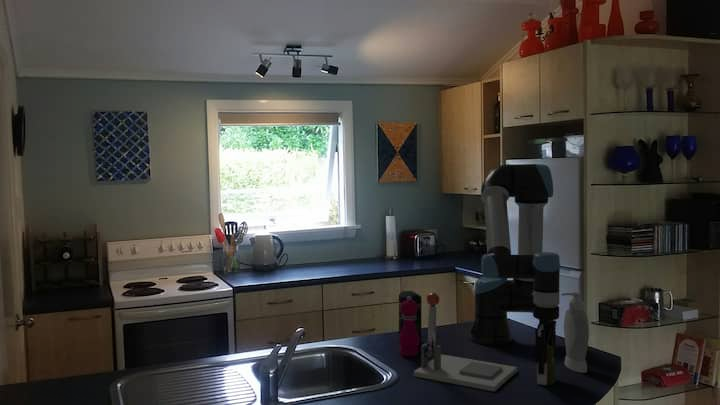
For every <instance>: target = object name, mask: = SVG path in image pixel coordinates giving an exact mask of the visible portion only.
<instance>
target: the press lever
mask: <svg viewBox="0 0 720 405" xmlns="http://www.w3.org/2000/svg"><path fill="white" fill-rule="evenodd" d="M426 302H427V304H428V305H429V307H428V317H427V319H428V321H427V322H428V323H427V349H426V350H425V357H426V358H428V359H431V360H433V359H434V347H436V335H437V334H436V331H437V307H436V306H438V304H439V302H440V296H439V295H438V294H437V293H435V292H430V293H429V294H427V296H426Z"/></svg>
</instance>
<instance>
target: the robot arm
mask: <svg viewBox="0 0 720 405" xmlns="http://www.w3.org/2000/svg"><path fill="white" fill-rule="evenodd" d="M552 176H553V175H552V171H551V169H550V167H549V166H548V165H546V164H540V163H522V164H521V163H520V164H518V163H514V164H509V163H507V164H502V165H498V166H496V167H495V168H493V169H492V170H491V171H490V172H488V174H487V175H486V177H485V178H484V180H483V182H482V184H481V188H480V198H481V201H482V203H484V218H485V219H484V221H485V222H484V223H485V235H486V236H485V237H486V254H485V253H484V254H483V255H482V256H481V275H482V277H479V278H477V279H476V281H475V282H474V291H473V293H474V319H473V322H472V325H471V328H470V330H469V340H470V341H472V342H474V343H477V344H481V345H487V346H488V345H490V346H501V345H506V344H509V343H511V342H512V337H513V336H512V332H511V329H510V326H509V323H508V313H532V316H533V318H535V319H537V320H538V321H539V322H538V324H537V328H535V330H534V332H535V333H534V334H535V343H534V344H535V347H534V350H535V351H534V360H533V362H534V363H536V369H537V382H536V384H537V385H542V386H548V385H547V363H546V356H547V346H548V345H551V346H552V347H553V348H554V356H553V365H554V364H555V363H554V362H555V360H554V358H555V357H557V348H556V346H557V338H556V337H557V336H556V334H557V333H556V332H557V331H556V330H557V328H556V327H557V320H558V319H559V318H560V306H559V304H560V274H561V272H560V270H561V263H560V259H561V258H560V255H559V254H558V253H555V252H549V251H543V250H544V248H543V244H544V242H543V241H544V239H543V238H544V207H545V206H546V205H548V203H549V198H553V196H554V182H553V177H552ZM509 198H514V203H515V204H516V205H517V206H518V228H517V230H518V234H517V235H518V239H517V241H518V242H517V254H512V245H511V234H510V225H509V224H510V223H509V214H508V212H509V211H508V203H507V201H509ZM554 366H555V365H554Z"/></svg>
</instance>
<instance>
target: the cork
mask: <svg viewBox="0 0 720 405" xmlns="http://www.w3.org/2000/svg"><path fill="white" fill-rule="evenodd" d="M554 353H555V352H554V348H553V347H552V346H551V345H548V346H547V356H546V363H547V385H546V386H550V385H555V384H556V374H555V368H554V366H555V365H553V357H555V356H554ZM535 370H536V371H535V375H534V376H535V377H534V382H535V383H537V368H536V369H535Z"/></svg>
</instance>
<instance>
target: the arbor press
mask: <svg viewBox="0 0 720 405" xmlns="http://www.w3.org/2000/svg"><path fill="white" fill-rule="evenodd" d="M427 344H428V342H427V343H426V342H425V343H424V344H423V343H422V344H421V345H420V346H421V347H420V367H418V368H417V369H415V370H414V371H413V376H414V377H416V378H421V379H427V380H432V381H437V382H442V383H448V384H453V385H458V386H464V387H469V388H472V389H473V388H474V389H478V390H484V391H489V392H496V391H497V390H498V389H499V388H500V387H502V386H503V384H505V383H506V382H507V381H508V380H510V378H512V377H513V376H514V375H515V374H516V373H517V372H518V369H517V368H518V367H517V366H512V365H506V364H500V363H495V362H489V361H483V360H476V359H472V358H471V359H470V358H465V357H459V356H453V355H448V354H447V355H446V354H442V345H435V347H434V359H431V360H429V358H426V357H425V350H426V349H427Z"/></svg>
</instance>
